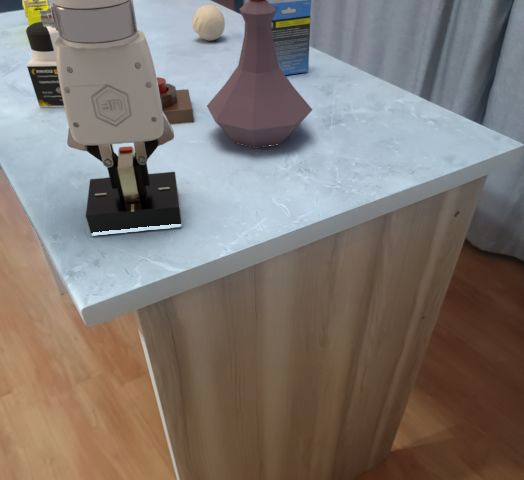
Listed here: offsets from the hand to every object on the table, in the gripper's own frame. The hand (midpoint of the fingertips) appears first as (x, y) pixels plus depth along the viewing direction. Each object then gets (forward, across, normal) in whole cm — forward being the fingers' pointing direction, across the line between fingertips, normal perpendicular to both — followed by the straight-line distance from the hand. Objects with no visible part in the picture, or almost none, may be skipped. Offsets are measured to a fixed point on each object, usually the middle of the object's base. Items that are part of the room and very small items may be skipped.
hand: (132, 190), depth 64 cm
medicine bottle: (+3, -13, +41) cm, 43 cm away
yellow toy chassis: (+3, -23, +85) cm, 88 cm away
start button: (0, +4, +32) cm, 32 cm away
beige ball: (+3, +16, +72) cm, 74 cm away
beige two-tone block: (0, 0, 0) cm, 0 cm away
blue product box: (+3, +28, +48) cm, 56 cm away
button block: (+3, +4, +32) cm, 32 cm away
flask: (+3, +19, +20) cm, 28 cm away
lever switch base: (+3, 0, 0) cm, 3 cm away
